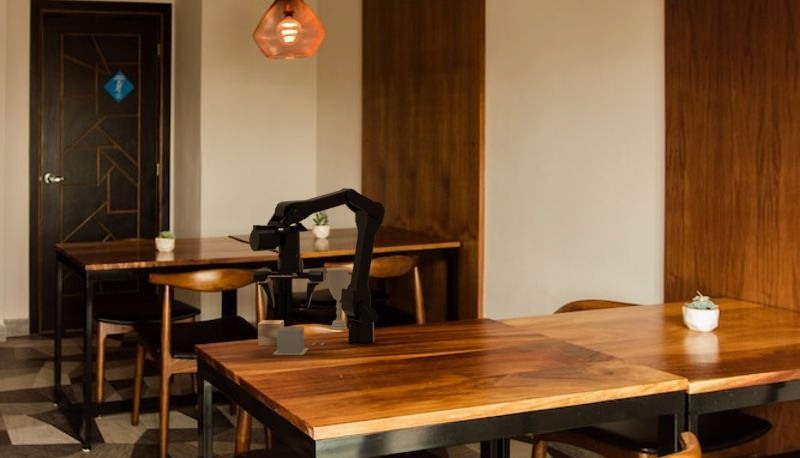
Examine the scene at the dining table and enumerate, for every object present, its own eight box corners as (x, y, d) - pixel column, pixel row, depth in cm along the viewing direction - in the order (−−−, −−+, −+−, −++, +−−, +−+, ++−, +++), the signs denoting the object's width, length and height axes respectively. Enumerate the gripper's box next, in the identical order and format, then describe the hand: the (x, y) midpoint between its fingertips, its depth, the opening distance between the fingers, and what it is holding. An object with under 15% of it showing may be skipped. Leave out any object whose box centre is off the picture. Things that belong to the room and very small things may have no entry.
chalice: (352, 326, 308) (351, 267, 306) (349, 330, 301) (348, 270, 300) (328, 326, 308) (327, 267, 307) (324, 329, 302) (323, 270, 300)
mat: (308, 349, 271) (308, 348, 271) (303, 355, 263) (303, 354, 263) (278, 349, 272) (278, 348, 272) (272, 355, 264) (272, 353, 264)
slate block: (304, 348, 270) (303, 326, 270) (300, 353, 264) (299, 330, 264) (282, 348, 271) (281, 326, 270) (277, 353, 265) (277, 330, 264)
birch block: (284, 341, 282) (283, 320, 281) (280, 345, 276) (279, 323, 275) (263, 341, 282) (262, 320, 282) (258, 345, 276) (257, 323, 276)
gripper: (328, 246, 273) (329, 303, 274) (260, 246, 274) (262, 303, 276) (322, 250, 262) (323, 309, 263) (251, 250, 263) (253, 309, 265)
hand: (290, 307), depth 267 cm, fingers open, 9 cm apart
